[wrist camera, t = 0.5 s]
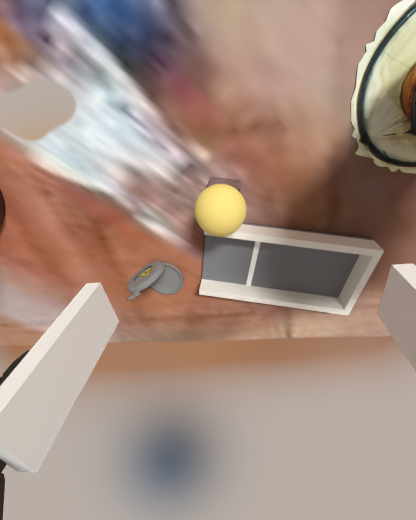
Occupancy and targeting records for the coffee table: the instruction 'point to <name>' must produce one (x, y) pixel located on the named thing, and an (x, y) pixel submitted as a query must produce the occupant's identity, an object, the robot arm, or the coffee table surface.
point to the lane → (288, 267)
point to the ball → (220, 210)
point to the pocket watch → (156, 279)
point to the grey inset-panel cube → (224, 182)
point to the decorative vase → (388, 93)
